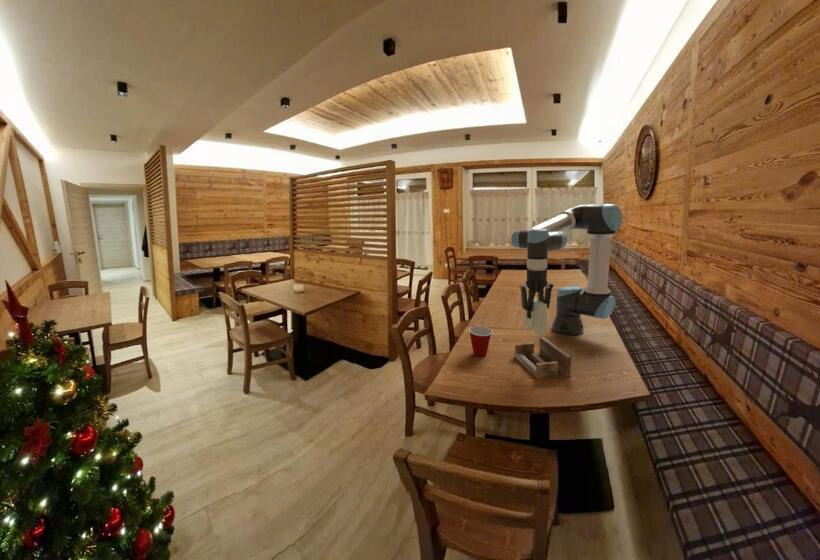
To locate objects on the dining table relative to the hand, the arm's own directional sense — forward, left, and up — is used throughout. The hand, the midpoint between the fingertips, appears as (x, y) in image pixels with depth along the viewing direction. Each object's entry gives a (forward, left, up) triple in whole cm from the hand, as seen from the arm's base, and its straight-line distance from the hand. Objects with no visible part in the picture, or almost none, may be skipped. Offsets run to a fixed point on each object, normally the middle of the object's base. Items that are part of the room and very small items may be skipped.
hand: (535, 325), depth 141 cm
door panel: (0, 0, -2) cm, 2 cm away
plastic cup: (+18, -16, -18) cm, 30 cm away
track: (-3, 0, -18) cm, 18 cm away
